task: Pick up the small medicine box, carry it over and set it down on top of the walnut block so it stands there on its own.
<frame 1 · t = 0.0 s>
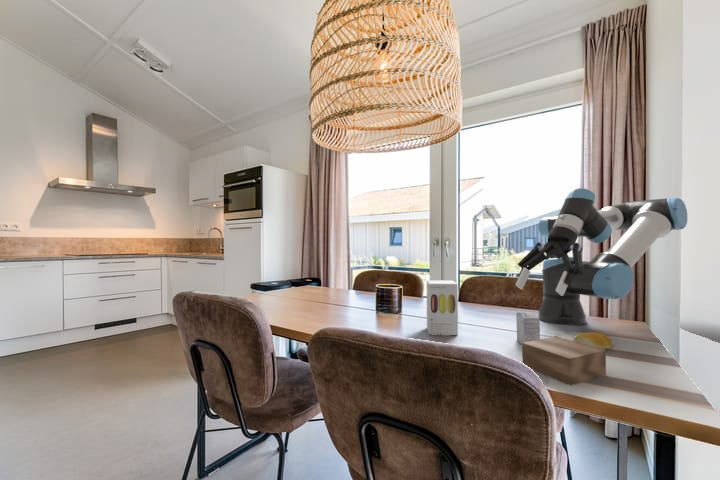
hand: (537, 290, 101), 15 cm above the table, tool tilted 35°, fingers open, 13 cm apart
walnut block: (562, 371, 79), on the table
medicine box: (528, 345, 98), on the table
supplement box: (441, 332, 113), on the table
bread roll: (592, 347, 96), on the table
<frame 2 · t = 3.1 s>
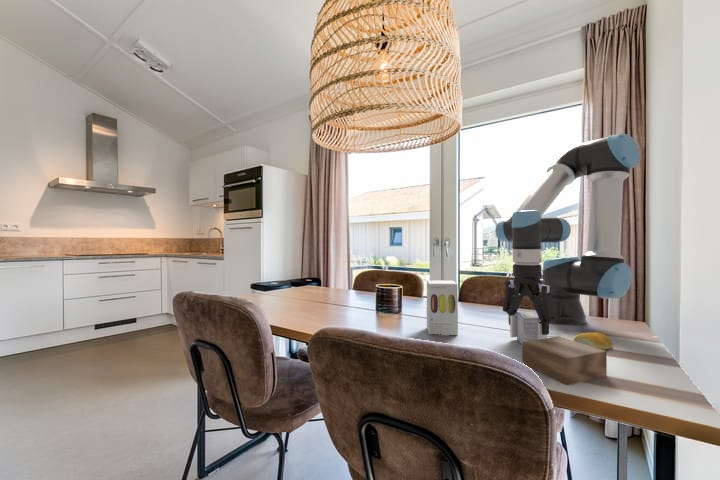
hand: (528, 340, 98), 1 cm above the table, tool pointing down, fingers closed on medicine box, 9 cm apart
medicine box: (528, 344, 98), on the table, touching gripper
everything else where it was.
when the fingers open (9 cm above the table, at t = 8.2 s): medicine box drops 2 cm, resting on walnut block.
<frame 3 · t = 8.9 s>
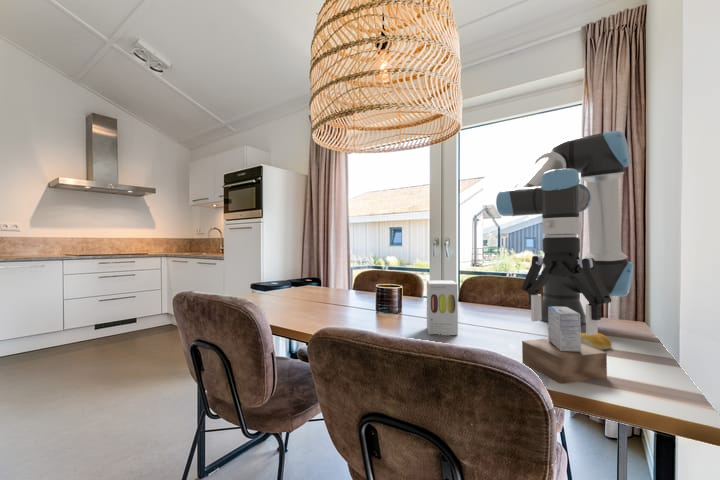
hand: (562, 327, 79), 10 cm above the table, tool pointing down, fingers open, 13 cm apart
walnut block: (562, 371, 79), on the table, touching medicine box
medicine box: (563, 347, 79), point 5 cm above the table, touching walnut block
everything else where it was.
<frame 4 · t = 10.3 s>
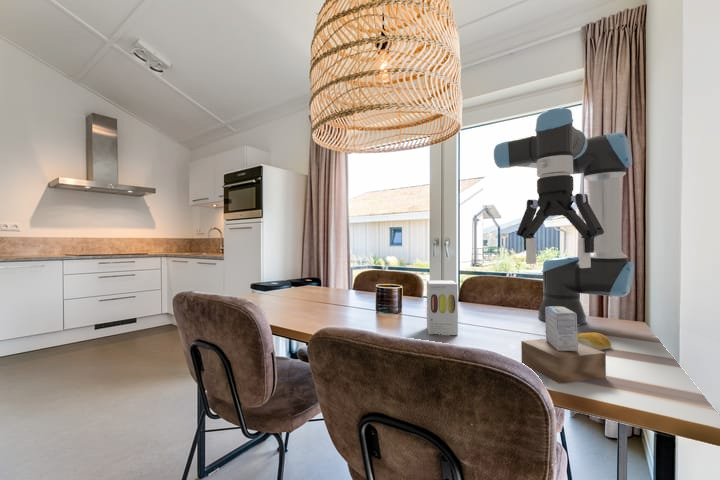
hand: (556, 265, 81), 24 cm above the table, tool pointing down, fingers open, 13 cm apart
nothing on the table moved.
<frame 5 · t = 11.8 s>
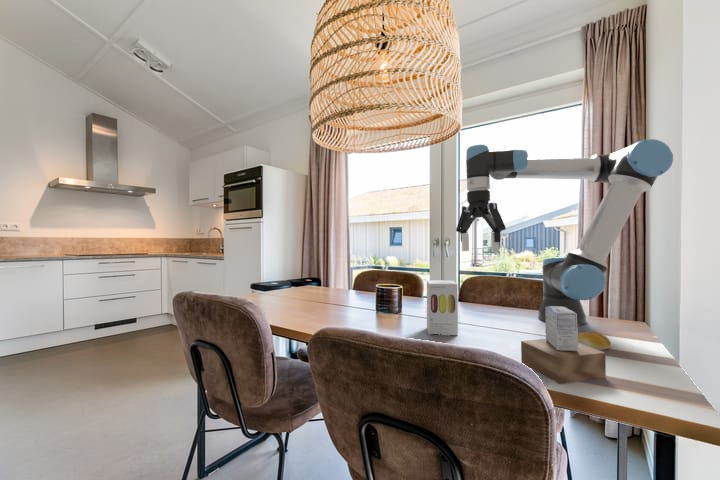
hand: (479, 251, 118), 26 cm above the table, tool pointing down, fingers open, 13 cm apart
nothing on the table moved.
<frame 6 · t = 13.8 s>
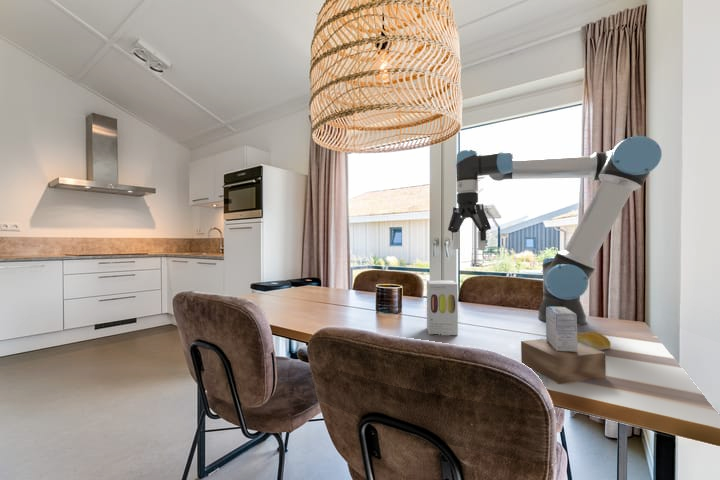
hand: (468, 249, 126), 27 cm above the table, tool pointing down, fingers open, 13 cm apart
nothing on the table moved.
at the end: medicine box inside the target area on the walnut block (0.1 cm from its centre), point 5.8 cm above the walnut block's base; medicine box tilted 0°; medicine box touching walnut block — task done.
